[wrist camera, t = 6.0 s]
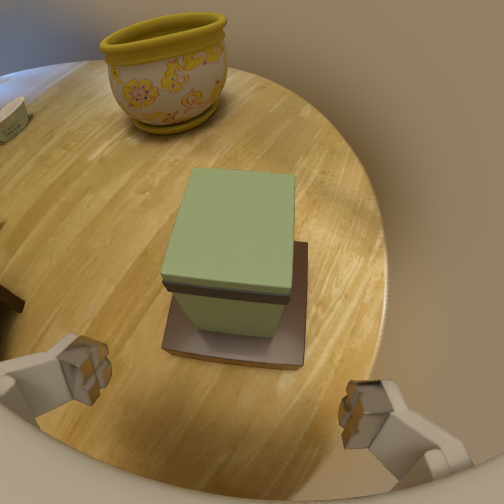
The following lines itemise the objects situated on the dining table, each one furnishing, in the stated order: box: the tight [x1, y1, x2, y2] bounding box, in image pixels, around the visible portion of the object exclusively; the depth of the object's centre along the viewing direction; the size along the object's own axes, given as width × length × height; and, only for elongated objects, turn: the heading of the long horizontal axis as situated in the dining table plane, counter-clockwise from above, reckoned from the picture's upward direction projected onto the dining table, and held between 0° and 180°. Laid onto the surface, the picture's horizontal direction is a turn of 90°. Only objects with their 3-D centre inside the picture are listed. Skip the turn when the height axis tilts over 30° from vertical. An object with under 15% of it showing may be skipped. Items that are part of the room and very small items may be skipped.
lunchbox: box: [161, 168, 295, 338], centre depth 18 cm, size 6×7×10 cm
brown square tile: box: [162, 241, 308, 370], centre depth 24 cm, size 11×11×3 cm
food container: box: [0, 97, 29, 143], centre depth 42 cm, size 12×12×6 cm
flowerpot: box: [99, 12, 227, 134], centre depth 34 cm, size 18×18×16 cm
